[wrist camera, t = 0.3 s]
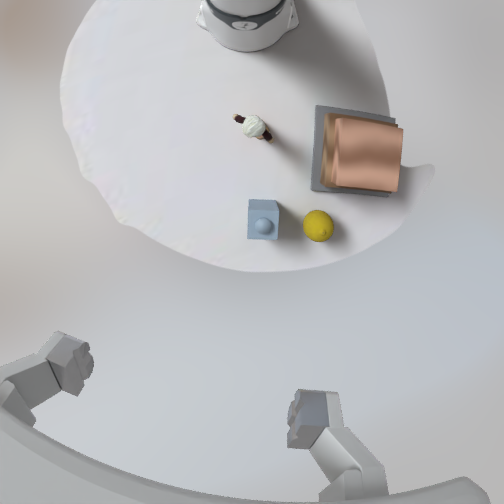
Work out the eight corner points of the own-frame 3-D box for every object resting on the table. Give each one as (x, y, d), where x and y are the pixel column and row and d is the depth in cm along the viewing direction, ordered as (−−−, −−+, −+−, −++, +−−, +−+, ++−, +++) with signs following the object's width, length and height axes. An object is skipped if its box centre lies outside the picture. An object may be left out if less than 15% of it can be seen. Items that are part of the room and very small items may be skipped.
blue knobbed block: (248, 199, 54) (248, 211, 46) (275, 200, 54) (279, 212, 46) (248, 224, 56) (247, 240, 48) (273, 225, 56) (277, 241, 48)
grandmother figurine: (278, 126, 49) (285, 123, 37) (269, 145, 50) (274, 148, 39) (238, 110, 48) (234, 102, 36) (230, 129, 49) (223, 127, 37)
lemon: (327, 231, 57) (338, 246, 49) (300, 233, 57) (307, 249, 49) (327, 204, 55) (338, 216, 47) (299, 206, 55) (306, 218, 47)
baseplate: (315, 105, 47) (316, 105, 46) (393, 118, 47) (395, 118, 46) (310, 189, 53) (311, 190, 52) (386, 196, 54) (388, 197, 53)
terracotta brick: (324, 114, 47) (336, 110, 39) (388, 124, 47) (408, 124, 40) (320, 182, 52) (331, 191, 44) (382, 189, 52) (400, 198, 45)
